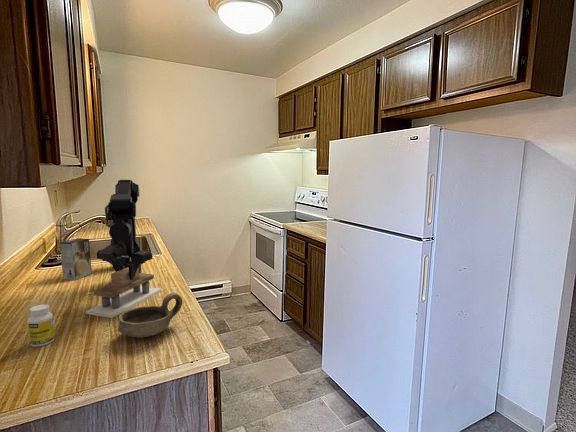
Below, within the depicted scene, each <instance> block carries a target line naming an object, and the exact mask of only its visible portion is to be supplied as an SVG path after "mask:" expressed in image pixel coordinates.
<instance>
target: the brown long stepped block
mask: <svg viewBox="0 0 576 432" xmlns="http://www.w3.org/2000/svg"><path fill="white" fill-rule="evenodd" d="M153 279H155V275H154V273H153V274H151V273H143V272H141V273H139V268H138V269H137V272H136V274H135V276H134V279H133V280H130V277H129V267H128V268H125V269H123V270H120V271H117V272H112V273H111V274H110V281H111V283H109V284H107V285H105V286H103V287H100V288H97V289H95V290H93V296H94V297H95V296H96V297H100V298H102V297H108V298H110V299H111V298H112V297H115V296H117V295H122V294H124V293H126V292H128V291H130V290H132V289H133V288H134V287H136V286H138V285H140V286H142V284H143V283H145V282H147V281H149V282H150V281H151V280H153Z"/></svg>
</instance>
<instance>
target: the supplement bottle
mask: <svg viewBox="0 0 576 432" xmlns="http://www.w3.org/2000/svg"><path fill="white" fill-rule="evenodd" d="M29 314H30V315H29V317H28V318H27V328H28V329H27V331H28V332H27V333H28V341H29V346H30V347H35V348H37V347H43V346H46V345H49V344H51V343H52V342H53V341H54V340H55V339H56V338H55V324H54V315H53V313H52V312H50V306H49V305H48V304H37V305H34V306H32V307H30V309H29Z"/></svg>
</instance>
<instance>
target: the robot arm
mask: <svg viewBox="0 0 576 432" xmlns="http://www.w3.org/2000/svg"><path fill="white" fill-rule="evenodd" d="M114 188H115V191H114V192H115V193H114V194H116V196H113V197H112V198H111V197H110V198H111V200H110V199H109V202H107V203H108V204H107V205H108V221H109V220H113V225H112V226H111V228H109V230H108V235H109V236H110V238H111V239H110V244H109V245H106V247H104V248H102V249H98V251H97V252H96V259H98V260H102V262H106V263H109V264H110V265H111V266H112V269H113V268H114V269H115V270H114V269H113V270H114V271H115V272H117V271H120V270H123V267H124V269H125V268H128V267H129V277H130V280H133V279H134V276H135V274H136V272H137V269H138V268H139V273H142V265H143V264H145V263H146V262H147V261H148V262H149V261H151V260H153V252H151V251H149V250H143V249H141V248H142V247H141V244H140V243H139V242H138V240H137V228H136V217H137V206H136V204H137V202H138V201H139V197H140V186H139V184H136V183H135V182H134V181H133V180H132V179H118V180H117V183H116V184H115V187H114ZM111 213H112V215H111Z"/></svg>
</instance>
